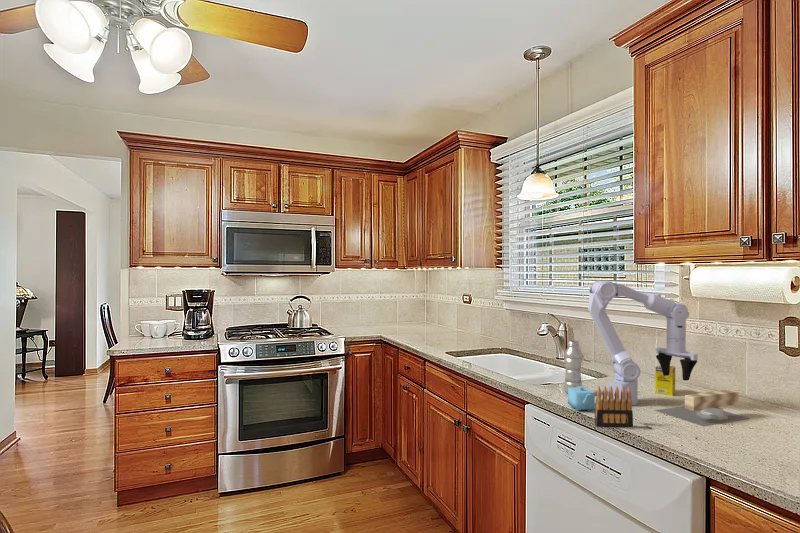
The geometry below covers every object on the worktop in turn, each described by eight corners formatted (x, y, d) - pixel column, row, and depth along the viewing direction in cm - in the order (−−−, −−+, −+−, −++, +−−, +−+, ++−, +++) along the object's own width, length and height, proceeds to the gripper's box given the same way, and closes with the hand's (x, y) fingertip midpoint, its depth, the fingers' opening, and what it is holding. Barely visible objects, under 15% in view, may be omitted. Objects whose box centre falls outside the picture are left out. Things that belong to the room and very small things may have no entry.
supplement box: (673, 398, 176) (673, 368, 176) (654, 396, 180) (654, 366, 180) (675, 395, 181) (675, 366, 181) (657, 392, 185) (657, 364, 185)
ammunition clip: (630, 425, 146) (631, 385, 146) (633, 427, 144) (633, 387, 144) (594, 424, 147) (594, 385, 147) (596, 426, 145) (596, 386, 145)
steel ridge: (718, 421, 147) (718, 410, 147) (696, 415, 154) (696, 404, 154) (727, 420, 149) (728, 408, 149) (706, 413, 155) (706, 402, 155)
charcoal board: (703, 429, 143) (703, 426, 143) (654, 413, 158) (654, 410, 158) (751, 421, 150) (751, 418, 150) (699, 406, 166) (699, 404, 166)
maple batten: (693, 410, 146) (693, 397, 146) (684, 408, 149) (684, 395, 149) (738, 404, 153) (738, 391, 153) (729, 401, 156) (729, 389, 156)
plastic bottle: (584, 396, 178) (584, 342, 179) (564, 395, 180) (565, 341, 180) (581, 392, 185) (581, 340, 185) (562, 391, 186) (562, 339, 186)
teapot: (599, 415, 156) (599, 392, 156) (580, 415, 156) (580, 392, 156) (583, 404, 168) (583, 383, 168) (566, 404, 168) (566, 383, 168)
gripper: (704, 340, 161) (704, 381, 161) (666, 334, 175) (665, 372, 175) (689, 341, 159) (688, 383, 159) (651, 335, 172) (651, 374, 172)
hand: (675, 377), depth 166 cm, fingers open, 7 cm apart
